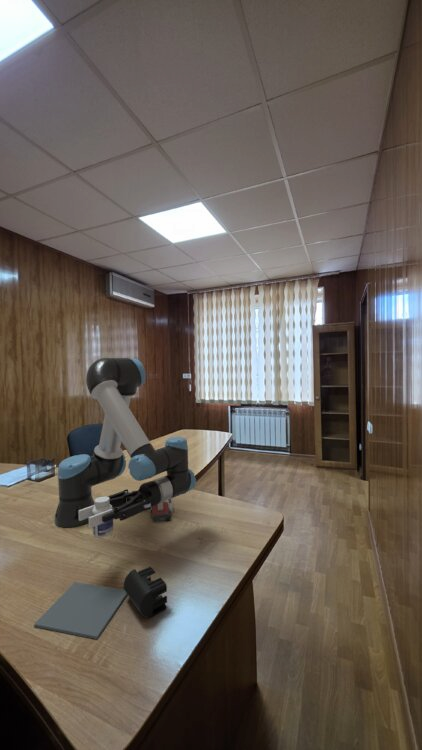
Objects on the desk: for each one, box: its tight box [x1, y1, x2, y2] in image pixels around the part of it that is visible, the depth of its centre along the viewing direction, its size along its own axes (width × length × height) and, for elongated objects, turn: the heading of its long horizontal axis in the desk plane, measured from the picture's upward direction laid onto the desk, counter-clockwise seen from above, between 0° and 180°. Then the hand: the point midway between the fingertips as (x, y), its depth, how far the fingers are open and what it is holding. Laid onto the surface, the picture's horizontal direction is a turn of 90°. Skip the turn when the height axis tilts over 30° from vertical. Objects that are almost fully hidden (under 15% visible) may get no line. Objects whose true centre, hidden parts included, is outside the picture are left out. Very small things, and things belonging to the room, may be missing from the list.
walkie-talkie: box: [151, 498, 175, 523], centre depth 126 cm, size 9×4×20 cm
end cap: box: [123, 566, 168, 619], centre depth 76 cm, size 10×7×7 cm
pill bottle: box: [92, 496, 114, 539], centre depth 87 cm, size 5×5×10 cm
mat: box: [33, 581, 128, 640], centre depth 75 cm, size 16×14×1 cm
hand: (84, 519), depth 83 cm, fingers closed on pill bottle, 5 cm apart
